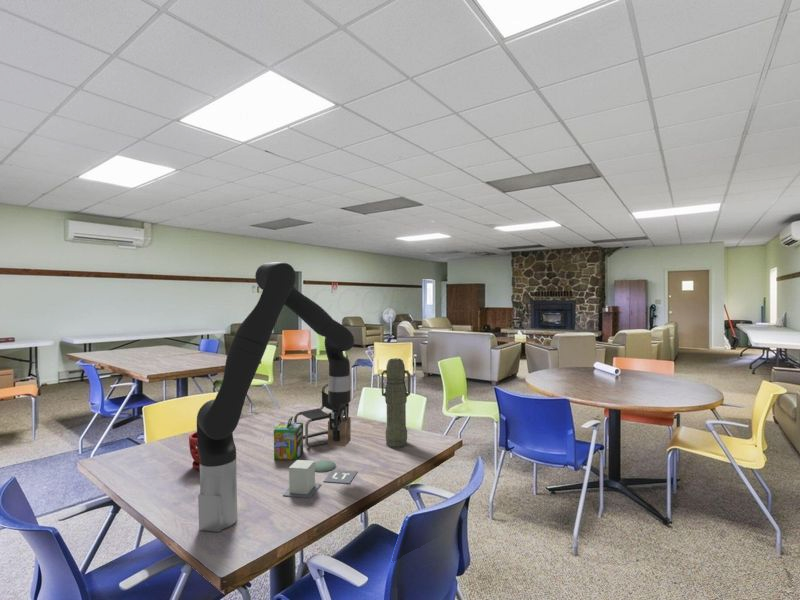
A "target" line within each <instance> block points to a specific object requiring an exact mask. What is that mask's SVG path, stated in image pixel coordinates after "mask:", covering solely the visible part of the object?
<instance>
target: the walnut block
mask: <svg viewBox="0 0 800 600" xmlns="http://www.w3.org/2000/svg"><path fill="white" fill-rule="evenodd" d="M351 421H352V420H351V416H348V417H346V418H343V420H342V422H341V423H340V440H339V441H338V442H334V441H333V430H330V422H329V420H328V421H327V430H328V433H327V440H328V443H327V446H331V447H332V446H334V447H346V446H347V445H348V444H349V443H350V442H351V433H352V431H351V430H352V429H351V426H352V425H351V423H352V422H351ZM334 426H335V424H334Z"/></svg>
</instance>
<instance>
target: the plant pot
mask: <svg viewBox="0 0 800 600" xmlns="http://www.w3.org/2000/svg"><path fill="white" fill-rule="evenodd" d="M188 444H189V445H188V446H189V452H190V455H191V458H192V459H193V461H192V468H194V469H196V470H199V471H200V458H199V452H198V444H197V431H195V432H193V433H191V434H190V435H189V437H188Z"/></svg>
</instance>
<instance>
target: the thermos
mask: <svg viewBox="0 0 800 600" xmlns="http://www.w3.org/2000/svg"><path fill="white" fill-rule="evenodd" d="M405 368H406V367H405V363H404V360H403V359H401V358H398V357H397V358H390V359H388V360H387V364H386V369H384V370H383V371H382V372H381V375H380V376H381V396H382V397H384V399H385V404H386V428H385V445H386V447H388V448H392V449H400V448H403V447H406V446H407V445H408V440H407V439H408V429H407V422H406V421H407V419H406V418H407V416H406V414H407V411H406V409H407V408H406V404H407V402H408V401H407V399H408V397H409V396H410V395H411V373H410V372H409V370H406V369H405ZM384 374H385V375H386V385H385V388H384ZM406 375H407V386H406V381H405V379H406V378H405V377H406ZM384 389H385V390H384Z"/></svg>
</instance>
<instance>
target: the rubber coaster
mask: <svg viewBox="0 0 800 600" xmlns="http://www.w3.org/2000/svg"><path fill="white" fill-rule="evenodd" d="M336 464H337V463H335V462H334V461H333V460H319V461H315V473H326V472H331V471H332V470H335V468H336V466H337V465H336Z"/></svg>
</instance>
